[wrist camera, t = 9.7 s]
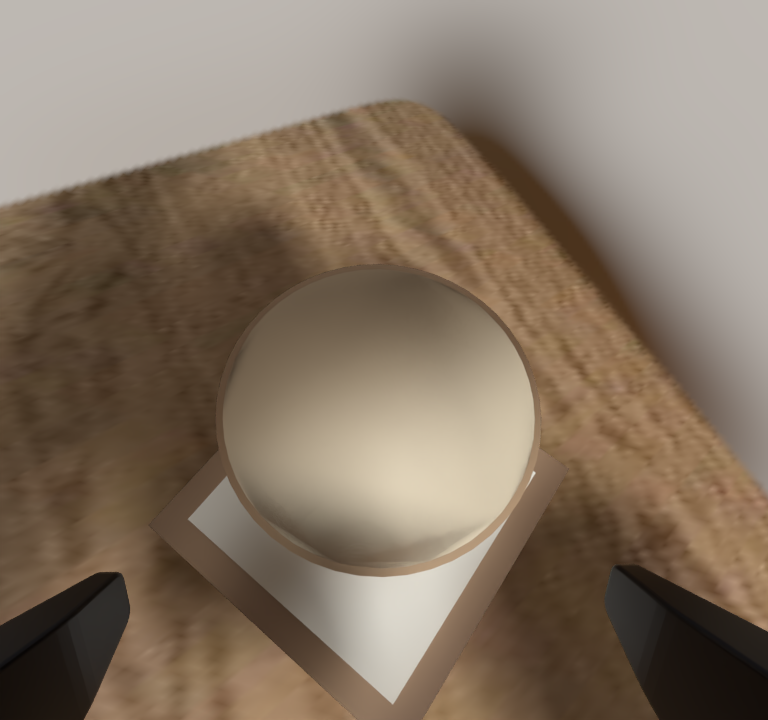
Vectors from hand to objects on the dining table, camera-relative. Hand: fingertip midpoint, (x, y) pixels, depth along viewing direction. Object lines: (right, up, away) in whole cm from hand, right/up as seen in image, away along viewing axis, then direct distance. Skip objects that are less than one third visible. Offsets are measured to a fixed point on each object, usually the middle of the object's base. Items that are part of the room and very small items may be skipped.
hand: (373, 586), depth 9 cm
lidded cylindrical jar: (0, -1, +8) cm, 8 cm away
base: (-1, -2, +11) cm, 12 cm away
